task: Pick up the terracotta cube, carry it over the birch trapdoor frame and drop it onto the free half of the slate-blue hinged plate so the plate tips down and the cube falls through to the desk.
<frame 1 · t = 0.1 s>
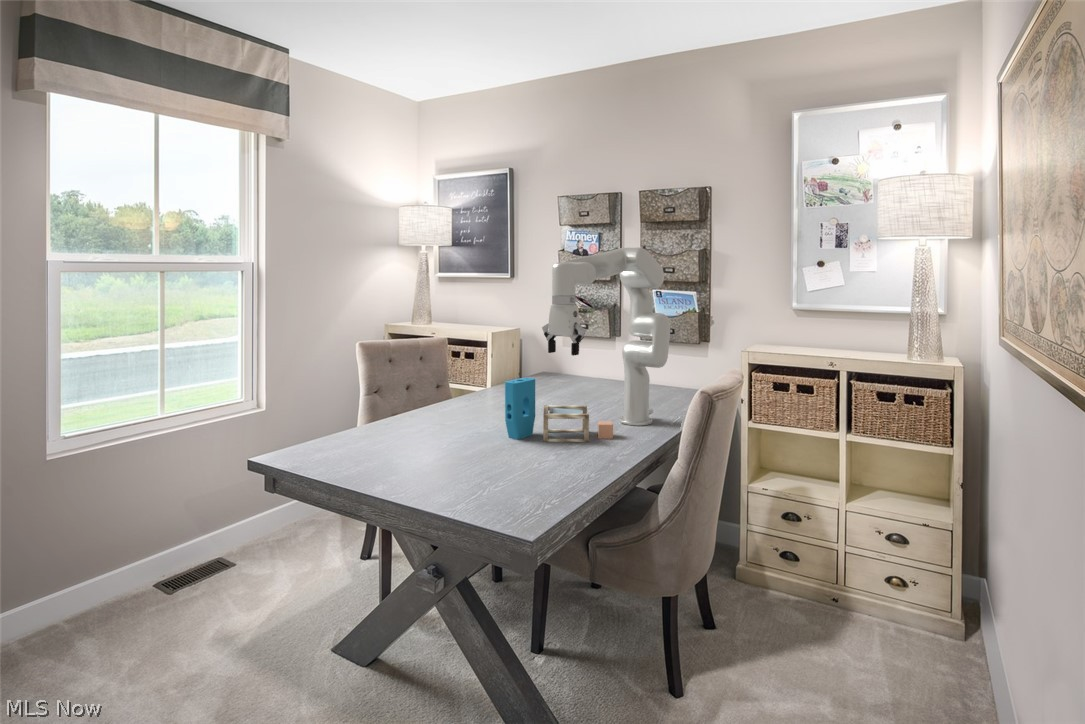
hand: (563, 353, 208), 31 cm above the table, fingers open, 9 cm apart
terracotta block: (605, 436, 225), on the table
trapdoor frame: (565, 436, 225), on the table
block: (520, 436, 226), on the table
trapdoor plate: (565, 412, 224), point 9 cm above the table, hinge at -3.8°
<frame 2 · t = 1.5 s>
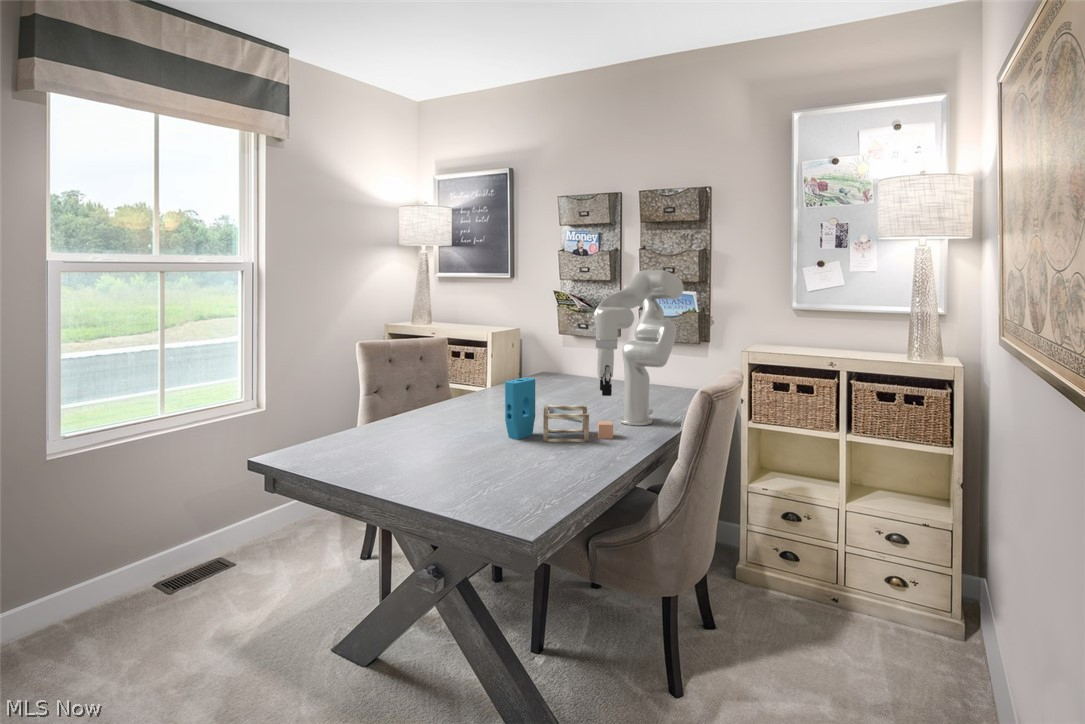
hand: (605, 393, 223), 16 cm above the table, fingers open, 9 cm apart
trapdoor plate: (565, 414, 224), point 8 cm above the table, hinge at -11.3°
everything else where it was.
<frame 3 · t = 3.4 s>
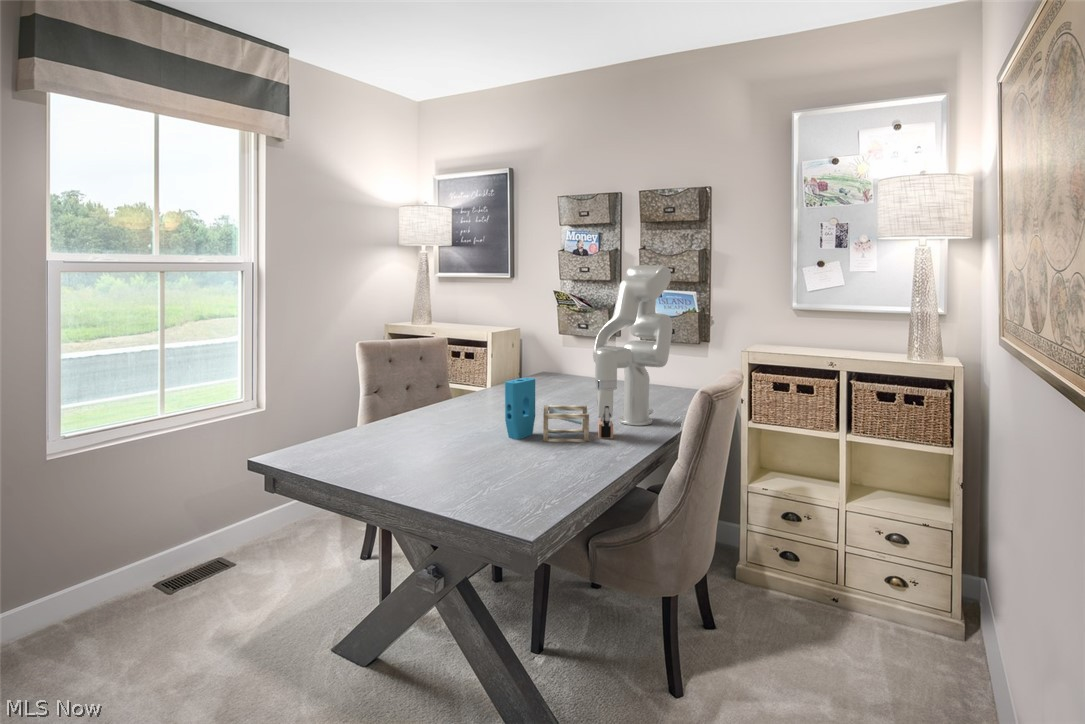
hand: (605, 434, 225), 1 cm above the table, fingers closed on terracotta block, 5 cm apart
terracotta block: (605, 436, 225), on the table, touching gripper
trapdoor plate: (565, 415, 224), point 8 cm above the table, hinge at -14.5°
everything else where it was.
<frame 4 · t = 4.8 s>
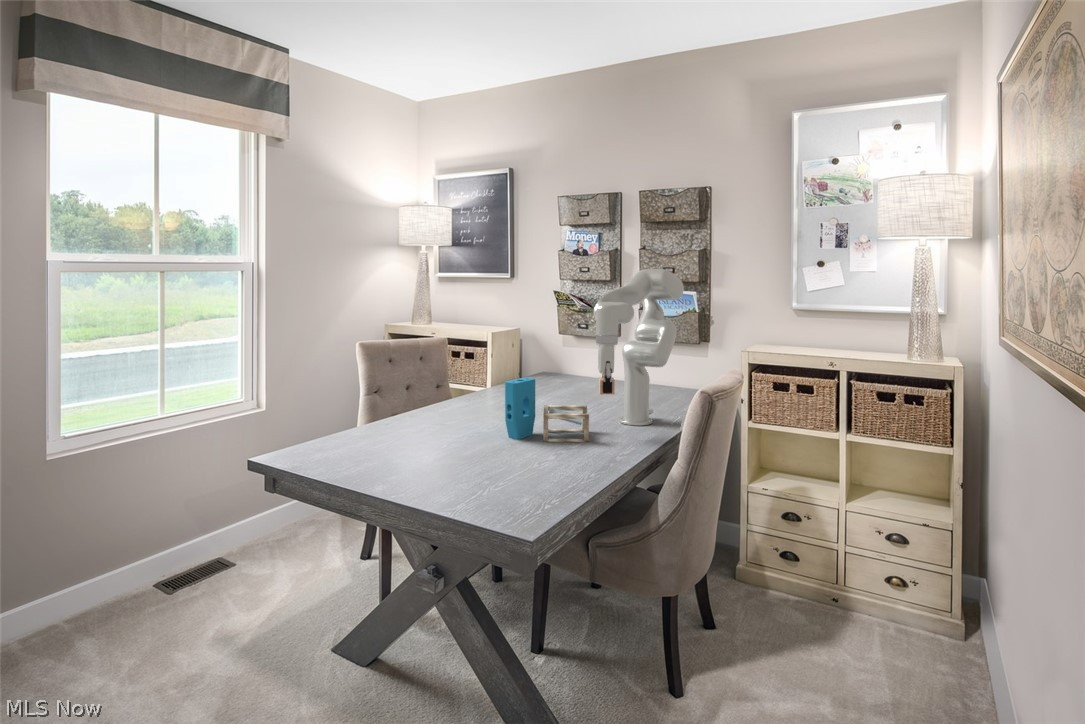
hand: (606, 390, 223), 16 cm above the table, fingers closed on terracotta block, 5 cm apart
terracotta block: (606, 392, 224), point 16 cm above the table, touching gripper
trapdoor plate: (565, 415, 224), point 8 cm above the table, hinge at -15.1°
everything else where it was.
when the fingers open (12 cm above the table, at t = 6.4 s): terracotta block drops 9 cm and tips over, point 2 cm above the table.
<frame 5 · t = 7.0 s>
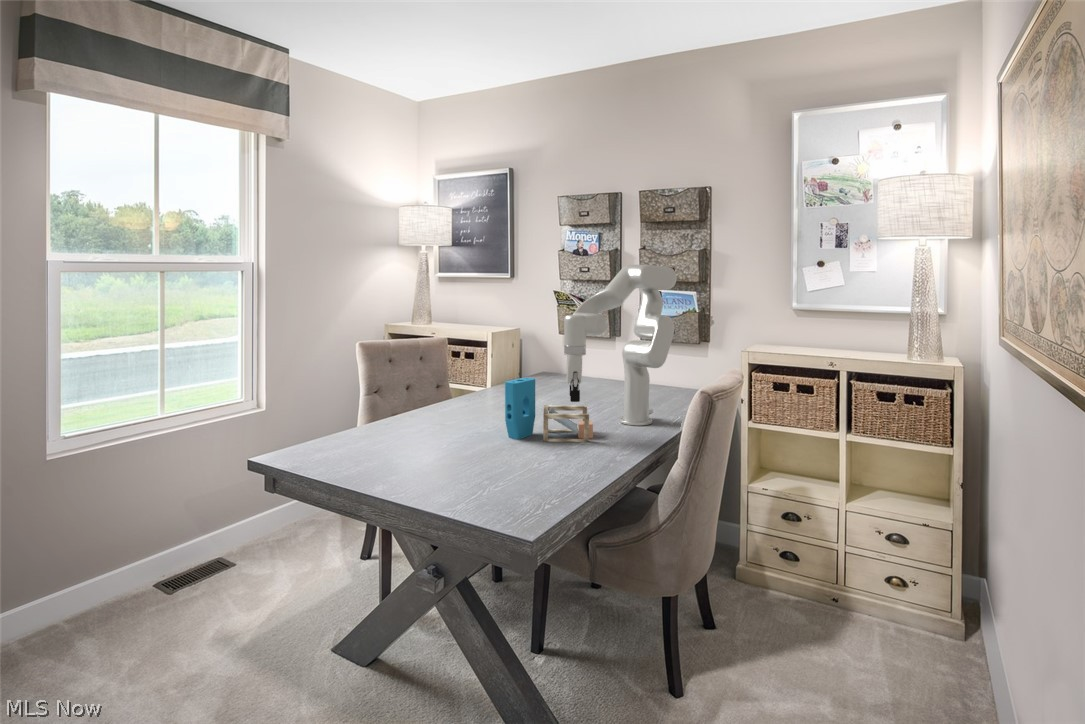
hand: (574, 398, 224), 14 cm above the table, fingers open, 9 cm apart
terracotta block: (578, 429, 225), point 2 cm above the table, tilted 90°
trapdoor plate: (563, 419, 225), point 6 cm above the table, hinge at -32.2°
everything else where it was.
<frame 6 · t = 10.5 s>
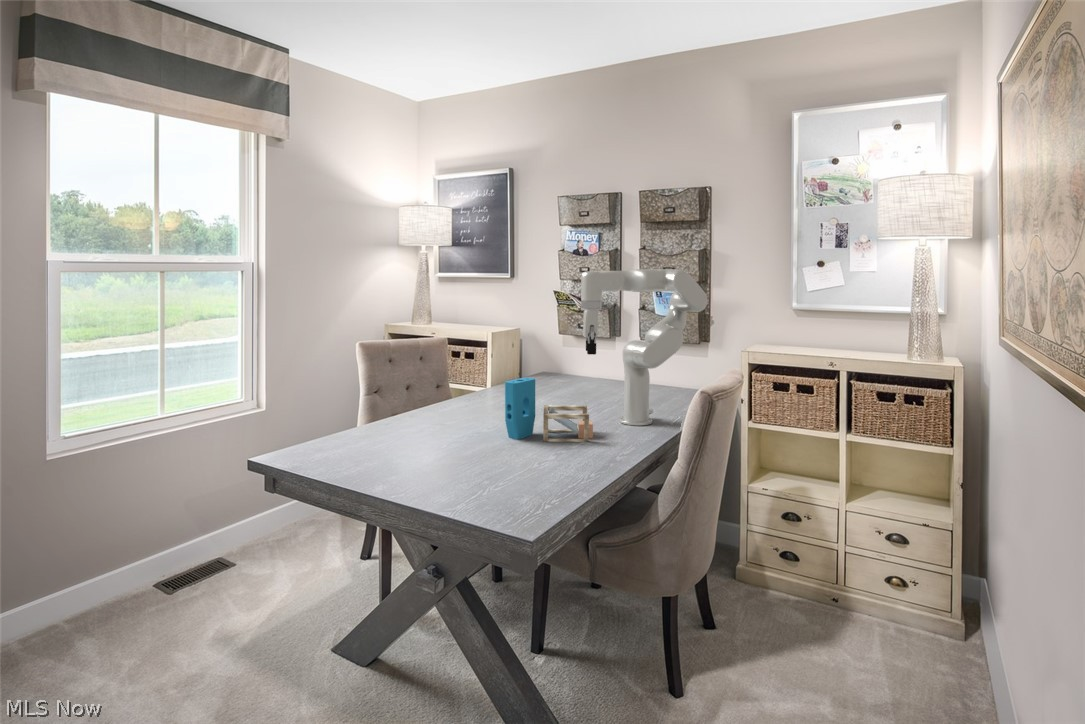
hand: (590, 352, 233), 28 cm above the table, fingers open, 9 cm apart
nothing on the table moved.
at the end: terracotta block point 2.4 cm above the table; terracotta block 4.5 cm from the trapdoor frame (horizontally); the gripper is holding nothing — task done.
